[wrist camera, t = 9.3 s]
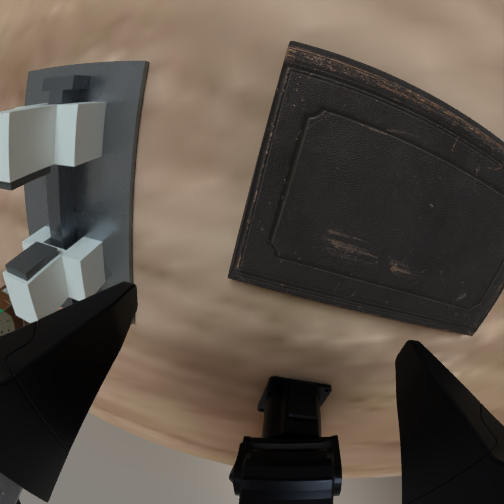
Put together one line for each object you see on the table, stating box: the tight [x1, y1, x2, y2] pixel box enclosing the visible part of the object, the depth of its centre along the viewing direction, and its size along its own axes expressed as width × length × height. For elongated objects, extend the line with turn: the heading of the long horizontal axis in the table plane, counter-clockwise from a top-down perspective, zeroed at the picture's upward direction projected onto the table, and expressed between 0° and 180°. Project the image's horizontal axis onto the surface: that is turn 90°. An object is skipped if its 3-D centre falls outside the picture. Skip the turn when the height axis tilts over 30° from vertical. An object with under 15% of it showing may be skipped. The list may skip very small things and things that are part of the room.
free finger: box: [3, 226, 105, 323], centre depth 19 cm, size 5×7×8 cm
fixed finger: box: [0, 102, 107, 190], centre depth 14 cm, size 5×7×8 cm
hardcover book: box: [228, 41, 504, 336], centre depth 18 cm, size 16×23×2 cm
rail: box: [24, 61, 149, 324], centre depth 20 cm, size 22×12×3 cm, turn 169°
